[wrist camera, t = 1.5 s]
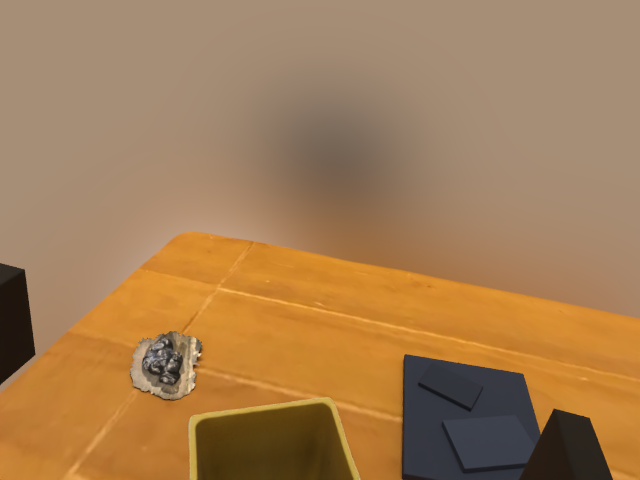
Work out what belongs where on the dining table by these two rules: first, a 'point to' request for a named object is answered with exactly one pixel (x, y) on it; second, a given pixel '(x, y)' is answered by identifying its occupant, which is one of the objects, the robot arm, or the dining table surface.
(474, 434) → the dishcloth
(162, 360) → the grey mineral rock
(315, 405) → the flower pot
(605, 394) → the dining table surface
